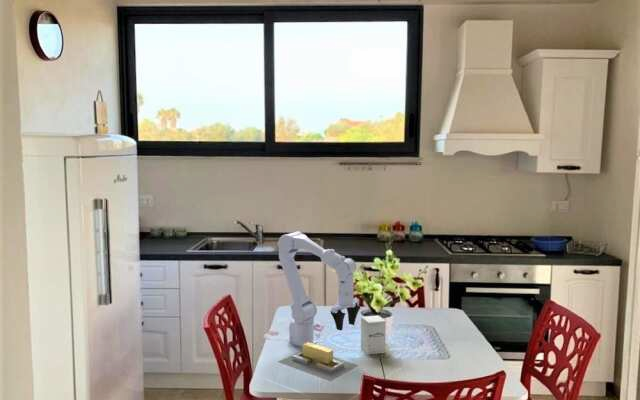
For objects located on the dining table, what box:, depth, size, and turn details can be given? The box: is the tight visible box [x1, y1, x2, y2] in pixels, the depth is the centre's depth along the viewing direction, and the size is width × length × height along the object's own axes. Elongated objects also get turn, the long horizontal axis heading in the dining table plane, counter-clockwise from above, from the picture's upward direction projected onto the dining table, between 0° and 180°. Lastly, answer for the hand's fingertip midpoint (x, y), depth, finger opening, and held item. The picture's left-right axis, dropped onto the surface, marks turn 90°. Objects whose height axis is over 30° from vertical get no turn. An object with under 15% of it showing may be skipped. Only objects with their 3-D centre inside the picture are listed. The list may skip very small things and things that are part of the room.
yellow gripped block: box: [302, 342, 334, 367], centre depth 183 cm, size 12×3×6 cm, turn 50°
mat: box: [277, 350, 359, 382], centre depth 183 cm, size 24×16×1 cm, turn 50°
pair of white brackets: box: [293, 350, 344, 374], centre depth 183 cm, size 18×7×2 cm, turn 50°
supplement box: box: [360, 315, 387, 355], centre depth 195 cm, size 7×7×13 cm
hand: (345, 326), depth 193 cm, fingers open, 7 cm apart
